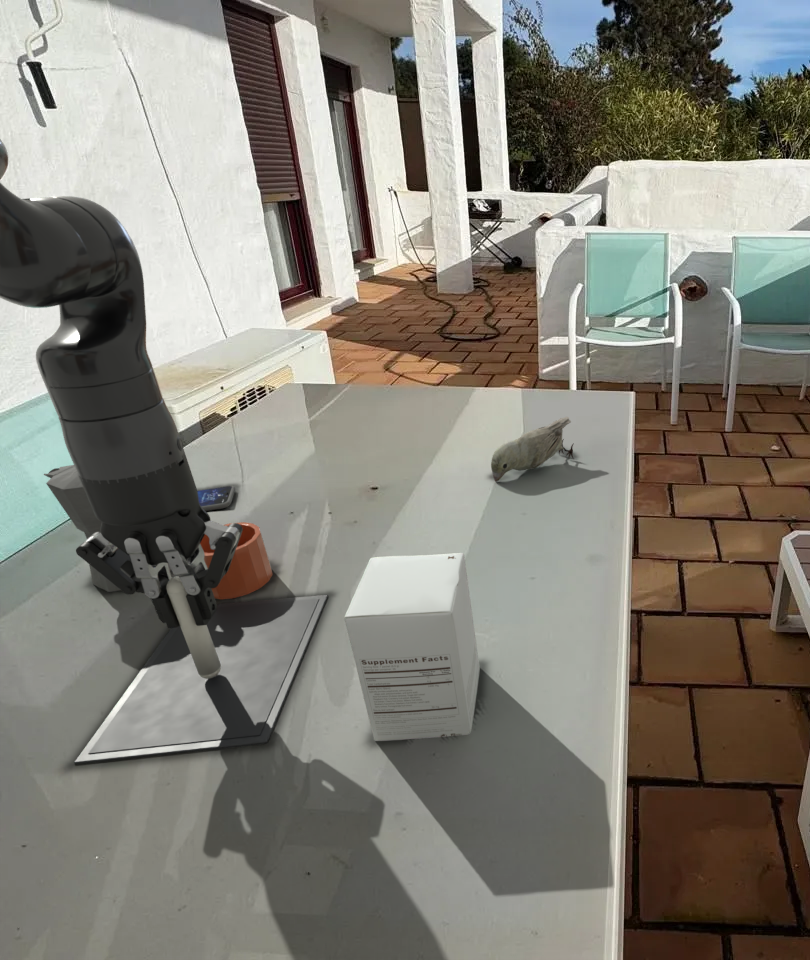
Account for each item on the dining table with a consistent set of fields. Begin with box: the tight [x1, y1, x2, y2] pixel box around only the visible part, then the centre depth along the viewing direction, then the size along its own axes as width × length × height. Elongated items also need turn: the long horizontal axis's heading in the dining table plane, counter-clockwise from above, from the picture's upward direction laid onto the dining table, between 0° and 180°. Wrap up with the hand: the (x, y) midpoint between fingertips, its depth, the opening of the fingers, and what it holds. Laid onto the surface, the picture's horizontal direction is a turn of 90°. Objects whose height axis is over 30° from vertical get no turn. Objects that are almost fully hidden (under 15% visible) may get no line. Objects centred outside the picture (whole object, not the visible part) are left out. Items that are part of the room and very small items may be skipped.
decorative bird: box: [490, 416, 575, 483], centre depth 108 cm, size 5×16×8 cm, turn 132°
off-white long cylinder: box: [166, 576, 221, 679], centre depth 61 cm, size 2×2×12 cm
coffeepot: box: [43, 464, 172, 593], centre depth 78 cm, size 15×9×18 cm, turn 85°
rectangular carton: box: [343, 552, 481, 742], centre depth 58 cm, size 9×9×15 cm
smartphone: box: [197, 485, 236, 512], centre depth 98 cm, size 7×1×15 cm
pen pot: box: [200, 521, 273, 600], centre depth 78 cm, size 8×8×7 cm
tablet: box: [73, 594, 329, 765], centre depth 66 cm, size 16×22×1 cm
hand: (192, 620), depth 61 cm, fingers closed on off-white long cylinder, 2 cm apart
